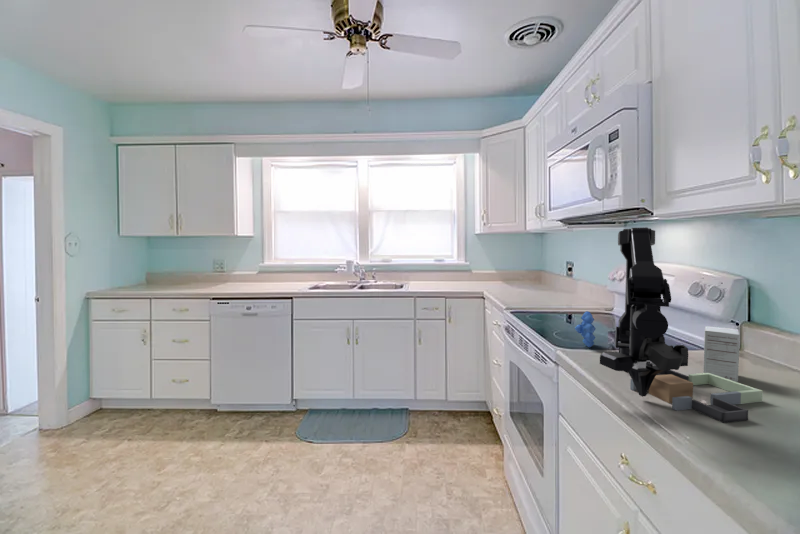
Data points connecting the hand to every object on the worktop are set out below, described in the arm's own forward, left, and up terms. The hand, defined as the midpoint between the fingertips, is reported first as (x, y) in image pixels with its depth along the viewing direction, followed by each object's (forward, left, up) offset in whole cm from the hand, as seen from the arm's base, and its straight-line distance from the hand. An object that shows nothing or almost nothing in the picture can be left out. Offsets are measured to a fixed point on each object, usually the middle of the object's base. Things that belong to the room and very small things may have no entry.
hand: (642, 395), depth 93 cm
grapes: (-46, +18, -1) cm, 50 cm away
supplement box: (-10, +33, -1) cm, 35 cm away
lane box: (0, +14, -1) cm, 14 cm away
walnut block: (0, +7, -1) cm, 7 cm away
